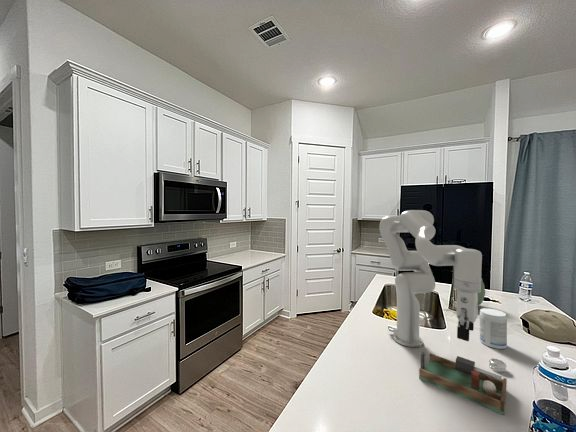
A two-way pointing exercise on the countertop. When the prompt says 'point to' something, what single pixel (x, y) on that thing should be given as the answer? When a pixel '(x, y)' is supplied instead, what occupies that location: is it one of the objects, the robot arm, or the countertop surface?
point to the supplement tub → (493, 328)
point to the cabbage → (481, 293)
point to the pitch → (462, 383)
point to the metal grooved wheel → (497, 365)
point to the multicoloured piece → (473, 371)
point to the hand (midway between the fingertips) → (465, 334)
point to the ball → (488, 386)
